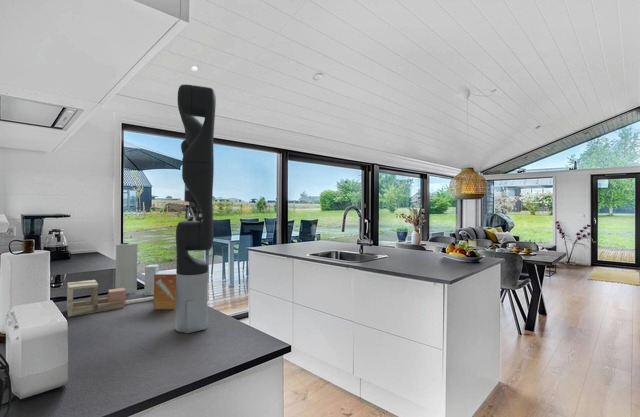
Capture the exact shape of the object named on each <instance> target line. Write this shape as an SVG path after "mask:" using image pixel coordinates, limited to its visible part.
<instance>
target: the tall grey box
mask: <svg viewBox="0 0 640 417" xmlns="http://www.w3.org/2000/svg"><path fill="white" fill-rule="evenodd" d="M117 288H124V289H125V290H126V295H129V294H133V293H137V290H138V243H131V242H122V243H121V242H120V243H116V244H115V288H114V289H117Z"/></svg>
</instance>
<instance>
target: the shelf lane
mask: <svg viewBox="0 0 640 417" xmlns="http://www.w3.org/2000/svg"><path fill="white" fill-rule="evenodd" d="M89 288H90V299H88V300H86V299H85V300H80V301H74V290H80V289H81V290H82V289H89ZM119 309H124V306H123V300H122V301H115V302H108V296H107V297H101V298H99V283H98V281H97V280H96V279H91V280H81V281H72V282H71V281H70V282H67V286H66V312H67V317H68V318H70V317H74V316H75V317H76V316H80V315H88V314H94V313H99V312H106V311H112V310H119Z"/></svg>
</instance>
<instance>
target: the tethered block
mask: <svg viewBox="0 0 640 417" xmlns="http://www.w3.org/2000/svg"><path fill="white" fill-rule="evenodd" d="M126 295H127V294H126V290H125V289H124V288H117V289H115V288H113V289H112V288H111V289H108V290H107V297H108V302H115V301H122V300H123V307H126V304H131V303H133V304H134V303H138V302H145V301H150V300H154V295H152V296H147V297H141V298H135V299H134V298H133V299H128V300H126V298H127V296H126Z"/></svg>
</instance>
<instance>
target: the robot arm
mask: <svg viewBox="0 0 640 417" xmlns="http://www.w3.org/2000/svg"><path fill="white" fill-rule="evenodd" d="M216 105H217V97H216V92H215V90H214V89H213V88H212V87H208V86H202V85H193V84H181V85H179V87H178V90H177V107H178V112H179V115H180V119H181V121H182V125H183V127H184V136H185V137H184V138H185V139H183V140H182V142H181V144H180V149H181V154H182V158H181V159H182V160H181V162H182V164H181V166H182V168H181V177H182V179H181V180H182V181H183V184H184V197H183V199H184V202H187V203H188V204H185V214H184V215H185V216H184V217H185V220H181V221H179V222H178V223H177V225H176V228H175V242H176V243H175V244H176V245H175V248H176V249H175V250H176V251H175V252H176V269H175V271H176V309H175V322H174V324H175V327H174V329H175V331H176V332H179V333H184V334H191V333H194V332H195V333H196V332H199V331H205V330H207V328H208V295H209V294H208V293H209V292H208V291H209V288H208V285H209V264H208V262H206V261H204V260H202V259H199V258H195V257H194V256H192V255H191V254H190V253H189V251H190V252H191V251H193V252H194V251H197V252H198V251H210V250H211V249H212V247H213V244H214V214H213V212H214V211H213V207H214V206H213V195H214V194H213V190H214V175H215V174H214V170H215V169H214V167H215V165H214V164H215V163H214V155H215V154H214V135H215V134H214V132H215V118H216V107H217V106H216ZM199 118H204V121H203V123H202V122H201V120H200V119H199Z"/></svg>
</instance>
